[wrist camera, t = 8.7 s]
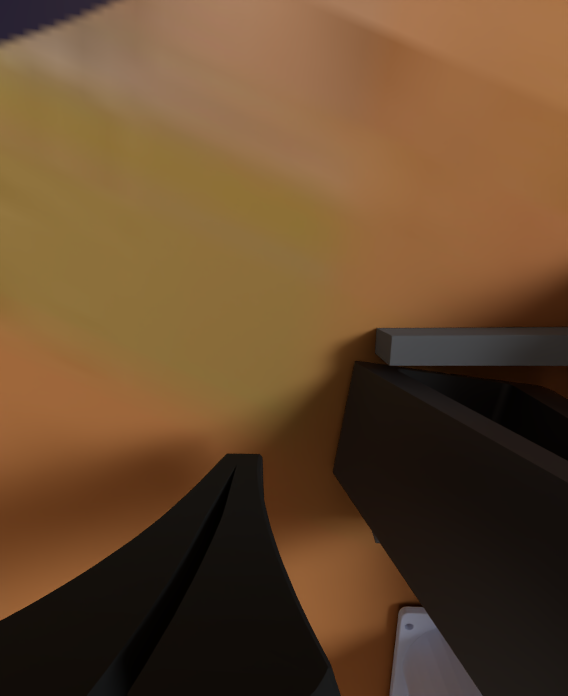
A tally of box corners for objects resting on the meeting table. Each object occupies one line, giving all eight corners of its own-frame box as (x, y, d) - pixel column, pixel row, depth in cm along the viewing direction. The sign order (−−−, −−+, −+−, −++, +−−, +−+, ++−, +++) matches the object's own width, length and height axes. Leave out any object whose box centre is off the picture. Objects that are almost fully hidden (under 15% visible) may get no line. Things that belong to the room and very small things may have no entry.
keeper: (537, 512, 14) (576, 549, 12) (364, 508, 14) (375, 542, 12) (582, 326, 12) (639, 334, 10) (376, 328, 12) (392, 335, 10)
